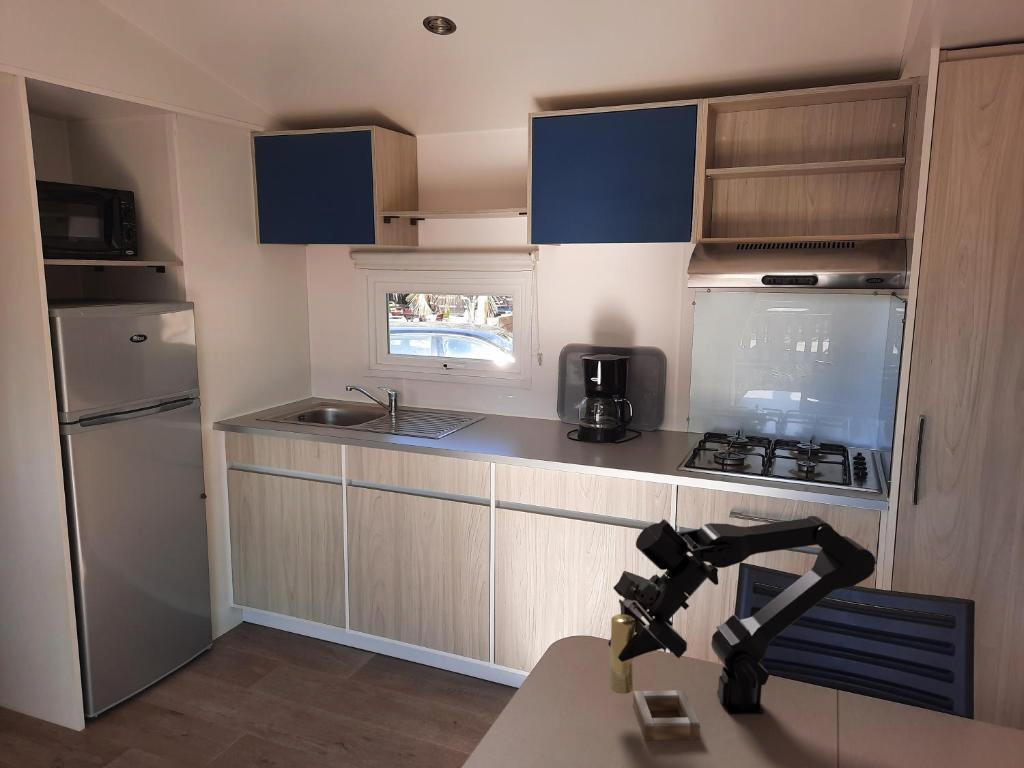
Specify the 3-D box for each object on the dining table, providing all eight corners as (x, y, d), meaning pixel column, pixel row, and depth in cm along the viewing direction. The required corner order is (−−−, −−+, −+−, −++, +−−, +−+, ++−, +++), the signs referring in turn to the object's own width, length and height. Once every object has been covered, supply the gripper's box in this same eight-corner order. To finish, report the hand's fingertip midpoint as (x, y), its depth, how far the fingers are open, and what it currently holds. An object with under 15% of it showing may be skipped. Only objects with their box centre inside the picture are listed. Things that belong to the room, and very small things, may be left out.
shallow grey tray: (683, 705, 130) (684, 689, 130) (699, 739, 121) (700, 722, 121) (632, 706, 130) (633, 690, 129) (644, 740, 121) (645, 724, 120)
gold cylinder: (630, 679, 128) (632, 614, 126) (635, 693, 124) (637, 625, 122) (607, 680, 128) (609, 614, 125) (611, 694, 124) (613, 626, 122)
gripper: (625, 536, 131) (566, 600, 131) (672, 582, 114) (604, 656, 113) (663, 572, 135) (606, 635, 134) (715, 622, 117) (649, 694, 116)
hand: (614, 652), depth 124 cm, fingers closed on gold cylinder, 4 cm apart
